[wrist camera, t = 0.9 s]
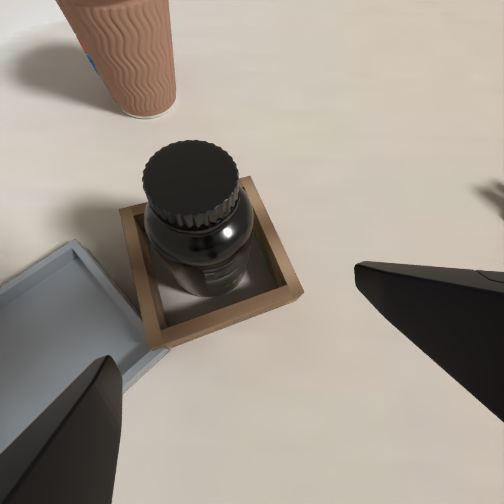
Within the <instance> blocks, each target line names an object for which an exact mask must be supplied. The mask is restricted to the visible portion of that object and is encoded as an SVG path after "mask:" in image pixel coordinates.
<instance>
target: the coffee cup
mask: <svg viewBox="0 0 504 504" xmlns="http://www.w3.org/2000/svg"><path fill="white" fill-rule="evenodd" d="M56 2H57V4H58V5H59V7H60V9H61V10H62V12H63V14H64V15H65V17H66V19H67V20H68V22H69V24H70V26H71V27H72V29H73V31H74V33H75V34H76V36H77V38H78V40H79V42H80V44H81V46H82V48H83V49H84V51H85V53H86V54H87V56H88V58H89V60H90V62H91V64H92V65H93V67H94V69H95V71H96V72H97V74H98V75H99V76H100V77H101V78H102V80H103V82H104V83H105V85H106V87H107V88H108V90H109V92H110V94H111V95H112V97H113V99H114V100H115V102H116V103H118V105H119V107H120V108H121V109H122V111H124V112H125V113H126V114H128V115H130V116H133V117H136V118H141V119H149V118H155V117H159V116H161V115H164V114H165V113H167V112H168V111H169V110H170V109H171V108H172V107H173V106H174V104H175V100H176V82H175V70H174V59H173V47H172V36H171V25H170V13H169V2H168V0H56Z"/></svg>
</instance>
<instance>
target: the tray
mask: <svg viewBox="0 0 504 504" xmlns="http://www.w3.org/2000/svg"><path fill="white" fill-rule="evenodd" d="M169 351H170V349H169V348H165V347H162V348H159V349H156V350H154V351H152V350H149V349H148V344H147V339H146V334H145V330H144V325H143V320H142V316H141V313H140V312H139V311H138V310H137V309H136V307H135V306H134V305H133V304H132V303H131V301H130V300H129V299H128V298H127V296H126V295H125V294H124V293H123V292H122V290H121V289H120V288H119V287H118V286H117V284H116V283H115V282H114V281H113V279H112V278H111V277H110V276H109V275H108V273H107V272H106V271H105V270H104V268H103V267H102V266H101V265H100V264H99V262H98V261H97V260H96V259H95V258H94V256H93V255H92V254H91V253H90V251H89V250H88V249H87V248H86V247H85V246H83V245H82V244H81V243H79V242H78V241H77V240H76V239H73V240H72V241H70V242H69V243H67V244H66V245H64V246H63V247H61V248H60V249H58V250H57V251H55V252H53V253H52V254H50V255H49V256H47V257H46V258H44V259H43V260H41V261H40V262H38V263H37V264H35V265H33V266H32V267H30V268H29V269H27V270H26V271H24V272H23V273H21V274H20V275H18V276H17V277H15V278H13V279H12V280H10V281H9V282H7V283H6V284H4V285H3V286H1V287H0V454H1V453H2V452H3V451H4V450H5V449H6V448H7V447H8V446H9V445H10V444H11V443H12V442H13V441H14V440H15V439H16V438H17V437H18V436H19V435H20V434H21V433H22V432H23V431H24V430H25V429H26V428H27V427H28V426H29V425H30V424H31V423H32V422H33V421H34V420H35V419H36V418H37V417H38V416H39V415H40V414H41V413H42V412H43V411H44V410H45V409H46V408H47V407H48V406H49V405H50V404H51V403H52V402H53V401H54V400H55V399H56V398H57V397H58V396H59V395H60V394H61V393H62V392H63V391H64V390H65V389H66V388H67V387H68V386H69V385H70V384H71V383H72V382H73V381H74V380H75V379H76V378H77V377H78V376H79V375H80V374H81V373H82V372H83V371H84V370H85V369H86V368H87V367H88V366H89V365H90V364H91V363H92V362H93V361H94V360H95V359H97V358H100V357H103V356H105V355H110V356H111V357H112V358H113V360H114V361H115V363H116V365H117V367H118V369H119V370H120V372H121V375H122V379H123V388H122V395H123V394H124V393H125V392H126V391H127V390H128V389H129V388H130V387H131V386H132V385H133V384H134V383H136V382H137V381H138V380H139V379H140V378H141V377H142V376H143V375H144V374H145V373H146V372H147V371H148V370H150V369H151V368H152V367H153V366H154V365H155V364H156V363H157V362H158V361H159V360H160V359H161V358H163V357H164V356H165V355H166V354H167V353H168V352H169Z"/></svg>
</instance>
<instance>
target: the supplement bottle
mask: <svg viewBox="0 0 504 504" xmlns="http://www.w3.org/2000/svg"><path fill="white" fill-rule="evenodd" d="M145 167H146V168H145V169H144V171H143V178H142V182H143V189H144V191H145V193H146V197H147V199H148V202H147V205H146V208H145V213H144V225H145V230H146V233H147V236H148V238H149V240H150V242H151V244H152V245H153V247H154V248H155V250H156V251H157V253H158V254H159V256H160V257H161V259H162V260H163V262H164V263H165V265H166V266H167V268H168V269H169V271H170V272H171V274H172V275H173V277H174V278H175V279H176V281H177V282H178V283H179V285H180V286H181V287H183V288H184V289H185V290H186V291H188V292H190V293H191V294H194V295H197V296H201V297H215V296H220V295H223V294H225V293H227V292H229V291H231V290H232V289H233V288H235V287H236V286H237V285H238V284H239V282H240V281H241V280H242V278H243V276H244V274H245V272H246V269H247V264H248V258H249V251H250V244H251V237H252V230H253V219H254V217H253V208H252V204H251V201H250V199H249V197H248V195H247V193H246V192H245V190H244V189H243V188H242V187H241V186H240V185H239V172H238V169H237V166H236V163H235V162H234V161H233V158H232V157H231V156H229V155H228V153H227V152H226V151H224V150H222V148H221V147H218V146H216V145H214V144H213V143H208V142H206V141H199V140H193V141H192V140H186V141H178V142H176V143H172V144H169V145H168V146H166V147H163V148H162V149H161V150H159V151H157V152H156V153H155V154H154V156H152V157H150V159H149V162H148V163H147V164H146V165H145Z"/></svg>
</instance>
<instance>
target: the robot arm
mask: <svg viewBox="0 0 504 504" xmlns="http://www.w3.org/2000/svg"><path fill="white" fill-rule="evenodd" d="M354 273H355V284H356V287H357V288H358V290H359V291H360V292H361V293H362V294H363V295H364V296H365V297H366V298H367V299H368V301H369V302H370V303H371V304H372V305H373V306H374V307H375V308H376V309H377V310H378V311H379V312H380V313H381V314H382V315H383V316H384V317H385V318H386V319H387V320H388V321H389V322H390V323H391V324H392V325H394V326H395V327H396V328H397V329H398V330H399V331H400V332H401V333H403V334H404V335H405V336H406V337H407V338H408V339H409V340H411V341H412V342H413V343H414V344H415V345H416V346H417V347H419V348H420V349H421V350H422V351H423V352H424V353H425V354H426V355H428V356H429V357H430V358H431V359H432V360H433V361H434V362H436V363H437V364H438V365H439V366H440V367H441V368H442V369H444V370H445V371H446V372H447V373H448V374H449V375H450V376H451V377H453V378H454V379H455V380H456V381H457V382H458V383H459V384H461V385H462V386H463V387H464V388H465V389H466V390H467V391H468V392H470V393H471V394H472V395H473V396H474V397H475V398H476V399H478V400H479V401H480V402H481V403H482V404H483V405H484V406H486V407H487V408H488V409H489V410H490V411H491V412H492V413H493V414H495V415H496V416H497V417H498V418H499V419H500V420H501V421H503V422H504V272H496V271H483V270H475V271H474V270H470V269H458V268H445V267H433V266H421V265H408V264H396V263H384V262H371V261H363V262H360V263H358V264H356V265H355V267H354ZM122 388H123V379H122V375H121V372H120V370H119V369H118V367H117V365H116V363H115V361H114V360H113V358H112V357H111V356H110V355H105V356H103V357H100V358H97V359H95V360H94V361H93V362H92V363H91V364H90V365H89V366H88V367H87V368H86V369H85V370H84V371H83V372H82V373H81V374H80V375H79V376H78V377H77V378H76V379H75V380H74V381H73V382H72V383H71V384H70V385H69V386H68V387H67V388H66V389H65V390H64V391H63V392H62V393H61V394H60V395H59V396H58V397H57V398H56V399H55V400H54V401H53V402H52V403H51V404H50V405H49V406H48V407H47V408H46V409H45V410H44V411H43V412H42V413H41V414H40V415H39V416H38V417H37V418H36V419H35V420H34V421H33V422H32V423H31V424H30V425H29V426H28V427H27V428H26V429H25V430H24V431H23V432H22V433H21V434H20V435H19V436H18V437H17V438H16V439H15V440H14V441H13V442H12V443H11V444H10V445H9V446H8V447H7V448H6V449H5V450H4V451H3V452H2V453H1V454H0V504H111V503H112V496H113V488H114V481H115V474H116V466H117V459H118V452H119V444H120V437H121V426H122Z"/></svg>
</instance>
